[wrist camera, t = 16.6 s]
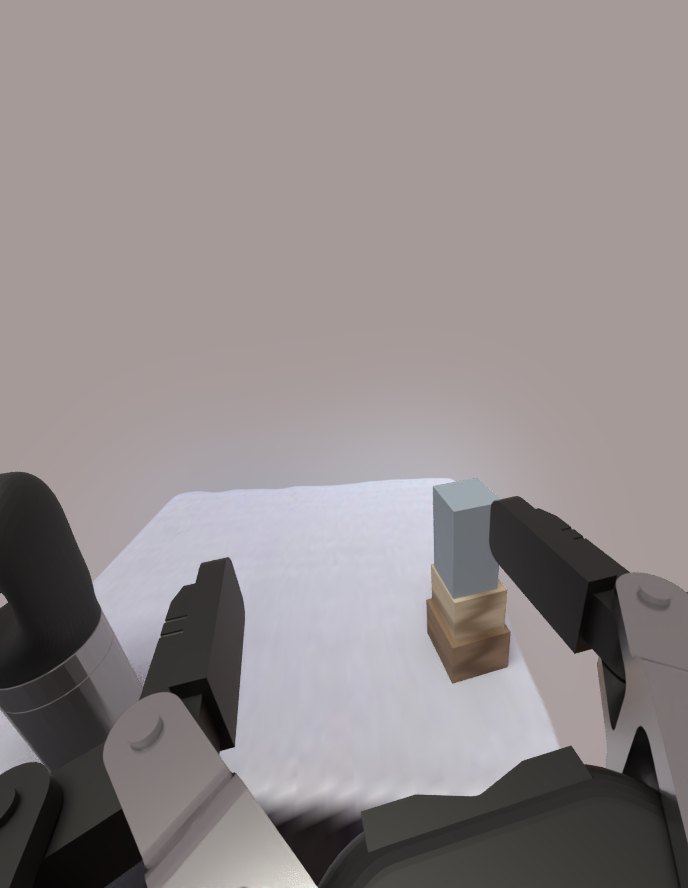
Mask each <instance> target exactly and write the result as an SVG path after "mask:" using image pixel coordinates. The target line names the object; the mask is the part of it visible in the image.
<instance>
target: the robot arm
mask: <svg viewBox="0 0 688 888" xmlns="http://www.w3.org/2000/svg"><path fill="white" fill-rule="evenodd" d="M489 546H490V550H491V553H492V555H493V557H494V559H495V560H496V562H497V563H498V564H499V565H500V566H501V568H502V569H503V570H504V571H505V572H506V573H507V575H508V576H509V577H510V578H511V579H512V580H513V582H514V583H515V584H516V585H517V586H518V588H519V589H520V590H521V591H522V592H523V594H525V596H526V597H527V598H528V599H529V601H530V602H531V603H532V604H533V605H534V606H535V608H536V609H537V610H538V611H539V612H540V614H542V616H543V617H544V618H545V619H546V620H547V622H548V623H549V624H550V625H551V626H552V627H553V629H554V630H555V631H556V632H557V633H558V635H559V636H560V637H561V638H562V639H563V640H564V642H565V643H566V644H567V645H568V646H569V647H570V649H571V650H572V651H573V652H574V653H575V654H576V653H579V652H583V651H586V650H590V649H593V650H594V651H595V652H596V654H597V655H598V656H599V658H598V662H597V667H598V676H599V683H600V691H601V699H602V707H603V715H604V723H605V731H606V740H607V755H606V768H603V767H598V766H593V765H587V764H583V762H582V761H581V760H580V758H579V756H578V755H577V753H576V752H575V750H574V749H573V748H572V746H568V747H565V748H562V749H559V750H556V751H553V752H549V753H546V754H543V755H540V756H537V757H533V758H530V759H527V760H524V761H522V762H521V763H519V764H518V765H517V766H516V767H514V768H513V769H512V770H511V771H509V772H508V773H507V774H506V775H504V776H503V777H502V778H501V779H499V780H498V781H497V782H496V783H494V784H493V785H492V786H491V787H489V788H488V789H487V790H486V791H485V792H483V793H482V794H480V795H478V796H443V795H413V796H409V797H406V798H403V799H400V800H397V801H394V802H390V803H387V804H384V805H381V806H378V807H374V808H371V809H368V810H365V811H362V812H361V816H362V821H363V827H364V832H362V833H361V834H360V835H359V836H357V837H356V838H355V839H354V840H352V841H351V842H350V843H349V844H348V845H347V846H346V847H345V848H344V849H343V851H342V852H341V853H340V854H339V855H338V856H337V858H336V859H335V860H334V862H333V863H332V864H331V866H330V867H329V868H328V870H327V872H326V874H325V875H324V877H323V879H322V880H321V882H320V884H319V885H318V887H317V886H316V885H315V883H314V882H313V880H312V879H311V877H310V876H309V875H308V873H307V872H306V870H305V869H304V868H303V866H302V865H301V863H300V862H299V860H298V859H297V858H296V856H295V855H294V853H293V852H292V850H291V849H290V848H289V846H288V845H287V843H286V842H285V841H284V839H283V838H282V836H281V835H280V833H279V832H278V831H277V829H276V828H275V826H274V825H273V824H272V822H271V821H270V819H269V818H268V816H267V815H266V814H265V812H264V811H263V809H262V808H261V806H260V805H259V804H258V802H257V801H256V799H255V798H254V797H253V795H252V794H251V792H250V791H249V789H248V788H247V787H246V785H245V784H244V782H243V781H242V780H241V779H240V777H239V776H238V775H237V774H236V773H235V772H234V773H232V772H231V771H230V770H229V769H228V767H227V766H226V764H225V763H224V761H223V760H222V759H221V757H220V756H219V753H220V751H222V750H226V749H229V748H233V747H235V738H236V725H237V713H238V700H239V687H240V675H241V662H242V650H243V637H244V624H245V609H244V602H243V597H242V594H241V591H240V587H239V584H238V581H237V577H236V574H235V571H234V568H233V564H232V561H231V559H230V558H229V557H227V558H222V559H218V560H213V561H208V562H204V563H201V565H200V568H199V572H198V575H197V579H196V583H195V584H191V585H186V586H183V587H182V589H181V590H180V591H179V593H178V594H177V595H176V596H175V598H174V599H173V600H172V602H171V604H170V607H169V610H168V613H167V616H166V619H165V621H166V622H165V623H164V625H163V628H162V631H161V634H160V635H161V638H159V641H158V644H157V647H156V650H155V653H154V656H153V659H152V662H151V665H150V668H149V671H148V674H147V677H146V681H145V684H144V687H142V685H141V683H140V681H139V680H138V678H137V676H136V674H135V672H134V670H133V668H132V666H131V664H130V662H129V660H128V658H127V656H126V655H125V653H124V651H123V649H122V647H121V645H120V643H119V641H118V639H117V637H116V635H115V633H114V632H113V630H112V628H111V626H110V624H109V622H108V620H107V619H106V617H105V615H104V613H103V611H102V609H101V607H100V605H99V603H98V601H97V599H96V596H95V593H94V588H93V584H92V580H91V576H90V573H89V570H88V568H87V565H86V563H85V561H84V559H83V556H82V554H81V552H80V550H79V547H78V545H77V543H76V541H75V538H74V535H73V533H72V530H71V528H70V526H69V523H68V520H67V518H66V516H65V514H64V511H63V509H62V507H61V505H60V503H59V501H58V500H57V498H56V496H55V495H54V493H53V492H52V491H51V489H50V488H49V487H48V486H47V485H46V484H45V483H44V482H43V481H42V480H40V479H39V478H37V477H36V476H34V475H32V474H29V473H25V472H10V473H4V474H0V593H2V594H3V595H4V596H5V598H6V599H7V601H8V603H7V604H6V605H4V606H3V607H1V608H0V710H1V711H2V712H3V714H4V715H5V716H6V717H7V719H8V720H9V721H10V722H11V724H12V725H13V726H14V727H15V729H16V730H17V731H18V733H19V734H20V735H21V736H22V738H23V739H24V740H25V741H26V743H27V744H28V745H29V746H30V748H31V749H32V750H33V752H34V753H35V754H36V755H37V757H38V758H39V759H40V760H41V762H42V763H43V764H44V765H45V766H44V765H43V764H41V763H37V762H29V763H25V764H21V765H19V766H16V767H14V768H12V769H10V770H8V771H6V772H4V773H3V774H1V775H0V888H104V887H105V886H107V885H108V884H110V883H111V882H112V881H114V880H115V879H117V878H118V877H119V876H121V875H122V874H124V873H125V872H126V871H128V870H129V869H130V868H132V867H133V866H135V865H136V864H137V863H139V862H140V861H142V860H143V861H144V864H145V868H146V870H145V871H144V876H145V880H146V884H147V887H148V888H688V592H685V591H684V590H683V589H681V588H680V587H679V586H677V585H675V584H674V583H672V582H670V581H668V580H665V579H663V578H660V577H658V576H655V575H650V574H645V573H630V572H629V571H627V570H626V569H625V568H624V567H622V566H621V565H620V564H618V563H617V562H616V561H614V560H613V559H612V558H611V557H609V556H608V555H607V554H605V553H604V552H603V551H602V550H600V549H599V548H597V547H596V546H595V545H594V544H592V543H591V542H590V541H589V540H587V539H584V538H583V536H582V535H581V534H579V533H578V532H577V531H576V530H572V529H571V527H570V526H569V525H568V524H566V523H565V522H564V521H562V520H561V519H560V518H559V517H557V516H555V515H553V514H551V513H548V512H546V511H544V510H542V509H539V508H538V509H534V508H533V507H532V506H531V505H530V504H529V503H527V502H526V501H525V500H524V499H522V498H521V497H519V496H515V497H510V498H505V499H500V500H496V501H493V502H492V504H491V510H490V530H489Z"/></svg>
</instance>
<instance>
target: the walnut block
mask: <svg viewBox="0 0 688 888" xmlns="http://www.w3.org/2000/svg"><path fill="white" fill-rule="evenodd" d="M426 602H427V629H428V635H429V637H430V639H431V641H432V643H433V645H434V647H435V649H436V651H437V653H438V655H439V657H440V659H441V661H442V663H443V665H444V667H445V669H446V671H447V673H448V675H449V678H450V680H451V682H452V684H453V683H456V682H459V681H463V680H466V679H469V678H473V677H476V676H479V675H483V674H486V673H489V672H493V671H496V670H499V669H503V668H506V667H507V666H508V655H509V643H510V630H509V629H508V628H507V626H506V625H505V624H504V630H501V631H498V632H494V633H490V634H487V635H483V636H479V637H475V638H472V639H468V640H464V641H460V642H457V643H454V642H453V640H452V638H451V636H450V634H449V632H448V630H447V628H446V627H445V625H444V623H443V621H442V619H441V617H440V615H439V613H438V612H437V610H436V608H435V606H434V604H433V602H432V599H428V600H426Z"/></svg>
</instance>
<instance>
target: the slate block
mask: <svg viewBox="0 0 688 888" xmlns="http://www.w3.org/2000/svg"><path fill="white" fill-rule="evenodd" d="M496 500H500V498H499V497H498V496H497V495H495V494H494V493H493V492H492V491H491V490H490V489H489V488H488V487H487V486H485V485H484V484H483V483H482V482H481V481H480V480H479V479H478V478H473V479H468V480H463V481H458V482H452V483H447V484H442V485H437V486H433V518H434V567H435V569H436V571H437V572H438V574H439V576H440V577H441V579H442V581H443V583H444V584H445V586H446V588H447V590H448V591H449V593H450V595H451V596H452V598H453V599H456V598H461V597H465V596H469V595H474V594H478V593H482V592H487V591H491V590H496V589H497V586H498V571H499V564H498V563H497V562H496V560H495V559H494V557H493V555H492V553H491V550H490V546H489V530H490V510H491V504H492V502H493V501H496Z"/></svg>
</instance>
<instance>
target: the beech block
mask: <svg viewBox="0 0 688 888" xmlns="http://www.w3.org/2000/svg"><path fill="white" fill-rule="evenodd" d="M431 578H432V602H433V604H434V606H435V608H436V610H437V612H438V613H439V615H440V617H441V619H442V621H443V623H444V625H445V627H446V628H447V630H448V632H449V634H450V636H451V638H452V640H453V642H454V643H457V642H460V641H464V640H468V639H472V638H475V637H479V636H483V635H487V634H490V633H494V632H498V631H501V630H504V624H505V612H506V599H507V589H506V588H505V586H504V585H503V584H502V583H501V582H500V580H499V579H498V586H497V589H496V590H491V591H487V592H482V593H478V594H474V595H469V596H465V597H461V598H456V599H453V598H452V596H451V595H450V593H449V591H448V590H447V588H446V586H445V584H444V583H443V581H442V579H441V577H440V576H439V574H438V572H437V571H436V569H435V567H434V564H431Z"/></svg>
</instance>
